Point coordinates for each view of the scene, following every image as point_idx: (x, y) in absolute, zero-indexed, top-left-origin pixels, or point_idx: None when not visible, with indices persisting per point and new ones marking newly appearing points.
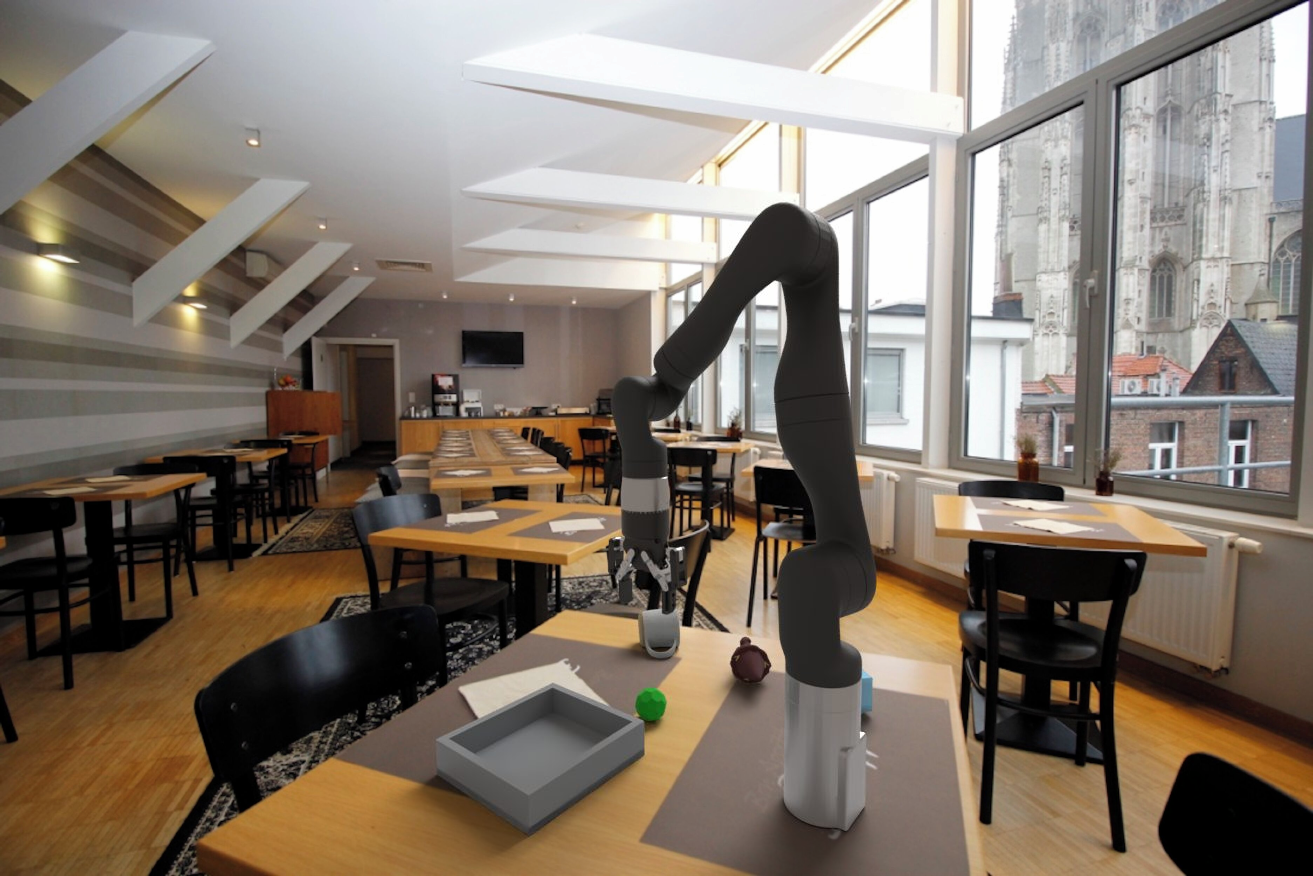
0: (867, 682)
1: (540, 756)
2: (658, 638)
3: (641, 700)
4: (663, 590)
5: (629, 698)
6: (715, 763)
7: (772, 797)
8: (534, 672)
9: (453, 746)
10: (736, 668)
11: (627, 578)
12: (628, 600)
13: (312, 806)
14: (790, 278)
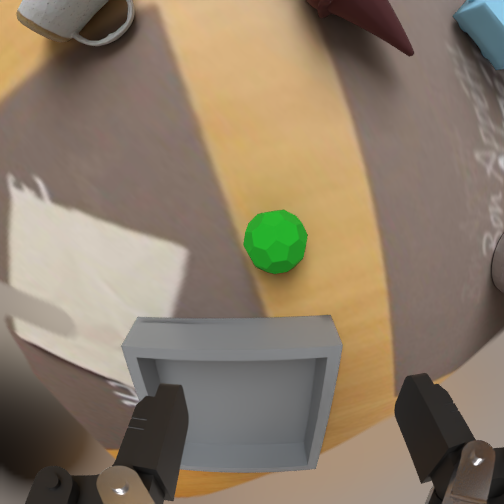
0: None
1: (232, 400)
2: (89, 13)
3: (274, 273)
4: (428, 479)
5: (189, 202)
6: (419, 268)
7: (482, 278)
8: (19, 247)
9: (191, 468)
10: (327, 9)
11: (156, 490)
12: (183, 405)
13: None
14: None
